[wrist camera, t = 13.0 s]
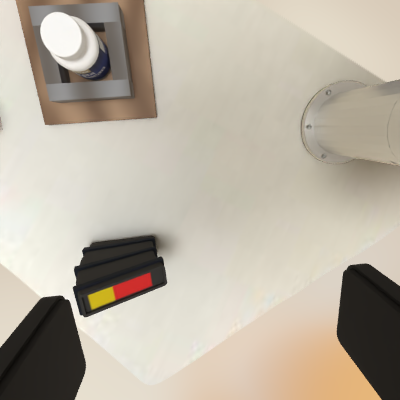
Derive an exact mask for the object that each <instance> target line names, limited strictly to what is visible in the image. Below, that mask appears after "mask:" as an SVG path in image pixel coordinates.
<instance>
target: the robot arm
mask: <svg viewBox="0 0 400 400" xmlns="http://www.w3.org/2000/svg"><path fill="white" fill-rule="evenodd" d="M306 126H308V127H307V128H306ZM301 131H302V138H303V142H304V144H305V146H306V148H307V150H308V151H309V152H310V154H311V155H312V156H314V157H315V158H316V159H318V160H320V161H322V162H326V163H331V164H342V163H346V162H349V161H352V160H354V159H356V158H358V159H364V160H370V161H376V162H382V163H387V164H393V165H399V166H400V80H395V81H391V82H386V83H382V84H377V85H373V86H366V85H364V84H362V83H360V82H356V81H341V82H337V83H334V84H331V85H329V86H327V87H325V88H324V89H322V90H321V91H320V92H318V93H317V94H316V95H315V96H314V97H313V98H312V100H311V101H310V103H309V104H308V106H307V108H306V110H305V113H304V116H303V120H302V127H301ZM321 155H322V156H321ZM337 337H338V339H339V342H340V344H341V345H342V346H343V348H344V349H345V350H346V352H347V353H348V355H349V356H350V357H351V359H352V360H353V361H354V363H355V364H356V365H357V367H358V368H359V369H360V371H361V372H362V373H363V375H364V376H365V378H366V379H367V380H368V382H369V383H370V384H371V386H372V387H373V388H374V390H375V391H376V392H377V394H378V395H379V396H380V398H381V399H382V400H400V286H399V285H397V284H396V283H395V282H393V281H392V280H390V279H389V278H388V277H386V276H385V275H383V274H382V273H381V272H379V271H378V270H376V269H375V268H374V267H372V266H371V265H369V264H357V265H350V266H348V268H347V270H345V271H344V272H343V279H342V288H341V298H340V307H339V316H338V325H337ZM85 369H86V362H85V358H84V354H83V350H82V347H81V342H80V339H79V335H78V331H77V327H76V323H75V319H74V316H73V312H72V308H71V304H70V301H69V300H65V298H64V297H63V296H51V297H43V298H41V299H40V300H39V301H38V303H37V304H36V305H35V306H34V307H33V309H32V310H31V311H30V312H29V313H28V315H27V316H26V317H25V318H24V320H23V321H22V322H21V323H20V324H19V326H18V327H17V328H16V329H15V330H14V332H13V333H12V334H11V335H10V337H9V338H8V339H7V340H6V342H5V343H4V344H3V345H2V346H1V348H0V400H75V397H76V395H77V392H78V389H79V387H80V385H81V382H82V379H83V377H84V374H85Z"/></svg>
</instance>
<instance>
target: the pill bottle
mask: <svg viewBox="0 0 400 400" xmlns="http://www.w3.org/2000/svg"><path fill="white" fill-rule="evenodd" d="M40 33H41V38H42V41H43V43H44V45H45V46H46V48H47V49H48V50H49V51H50V53H51V55H52V56H53V58H54V59H55V60H56V61H57V62H58V63H59V64H60V65H61V66H63V67H65V68H66V69H68V70H70V71H72V72H74V73H76V74H78V75H79V76H81V77H83V78H85V79H88V80H91V81H99V80H102V79H104V78H105V77H106V76H107V75H108V74H109V73H110V71H111V65H110V58H109V52H108V47H107V46H106V45H105V43H104V42H103V41H102V40H101V39H100V38H99V36H98V35H97V34H96V33H95V32H94V31H93V30H92V28H91V27H90V26H89V25H88V24H87V23H85V22H84V21H83V20H81V19H79V18H77V17H74V16H69V15H67V14H65V13H61V12H54V13H51V14H48V15H47V16H46V17H45V18H44V19H43V21H42V24H41V28H40Z"/></svg>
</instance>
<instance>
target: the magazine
mask: <svg viewBox="0 0 400 400" xmlns="http://www.w3.org/2000/svg"><path fill="white" fill-rule="evenodd" d="M82 252H83V258H82V260H81V263H80V265H79V266H75V268H74V272H75V276H76V286H74V287H73V291H74V295H75V298H76V302H77V305H78V309H79V312H80V315H83V316H84V317H88V316H91V315H93V314H96V313H98V312H101V311H103V310H106V309H108V308H111V307H113V306H115V305H118V304H120V303H123V302H125V301H128V300H130V299H133V298H135V297H138V296H140V295H143V294H145V293H148V292H150V291H153V290H155V289H157V288H160V287H162V286H165V285H166V284H167V279H166V272H165V267H164V261H163V258H162V257H158V256H157V249H156V243H155V237H153V236H148V237H139V238H131V239H122V240H113V241H105V242H96V243H92V244H91V245H90V247H86V248H84V249H83V250H82ZM157 257H158V258H157Z"/></svg>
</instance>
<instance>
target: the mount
mask: <svg viewBox="0 0 400 400" xmlns="http://www.w3.org/2000/svg"><path fill="white" fill-rule="evenodd" d="M16 4H17V8H18V12H19V16H20V21H21V25H22V29H23V33H24V38H25V42H26V46H27V50H28V54H29V59H30V63H31V67H32V71H33V76H34V80H35V84H36V88H37V92H38V97H39V101H40V105H41V109H42V114H43V118H44V122H45V125H54V124H68V123H82V122H97V121H111V120H125V119H140V118H154V117H157V115H156V106H155V97H154V88H153V79H152V70H151V61H150V53H149V44H148V35H147V26H146V17H145V8H144V0H16ZM54 12H61V13H65V14H67V15H69V16H74V17H77V18H79V19H81V20H83V21H84V22H85V23H87V24H88V25H89V26H90V27H91V28H92V30H93V31H94V32H95V33H96V34H97V35H98V36H99V38H100V39H101V40H102V41H103V42H104V43H105V45H106V46H107V47H108V52H109V58H110V65H111V71H110V73H109V74H108V75H107V76H106V77H105V78H104V79H102V80H99V81H91V80H88V79H85V78H83V77H81V76H79V75H78V74H76V73H74V72H72V71H70V70H68V69H66V68H65V67H63V66H61V65H60V64H59V63H58V62H57V61H56V60H55V59H54V58H53V56H52V55H51V53H50V51H49V50H48V49H47V48H46V46H45V45H44V43H43V41H42V38H41V33H40V28H41V24H42V21H43V19H44V18H45V17H46V16H47V15H48V14H51V13H54Z"/></svg>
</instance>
